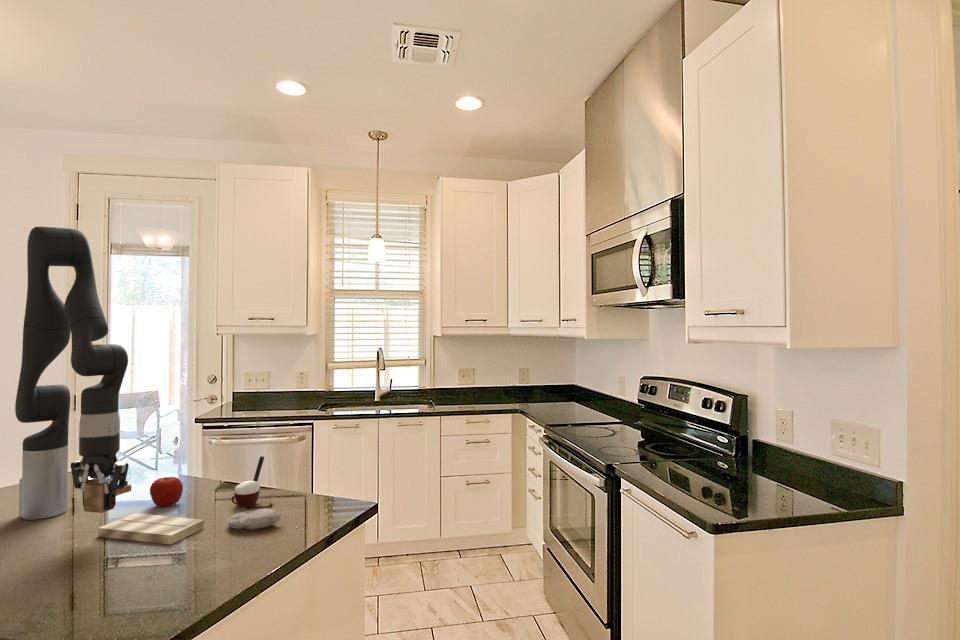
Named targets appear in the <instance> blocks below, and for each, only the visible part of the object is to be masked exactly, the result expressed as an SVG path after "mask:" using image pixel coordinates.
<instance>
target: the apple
mask: <svg viewBox="0 0 960 640" xmlns="http://www.w3.org/2000/svg"><path fill="white" fill-rule="evenodd" d="M183 490H184V486H183V482H182V481H181V479H180V478H178V477H177V476H165V477H160V478H158V479H156V480H154V481H153V482H152V483H151V485H150V488H149V496H150V498H151V500H152V503H153V504H154V505H156V506H158V507H160V508H164V507H165V508H166V507H167V508H168V507H171V506H174V505H175V504H178V502H179V501H180V500H181V498H182V494H183Z"/></svg>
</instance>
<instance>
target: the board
mask: <svg viewBox="0 0 960 640" xmlns="http://www.w3.org/2000/svg"><path fill="white" fill-rule="evenodd" d="M204 521H205V519H198V518H188V517H178V516H177V517H176V516H168V515H166V516H165V515H156V514H155V515H154V514H145V513H135V512H134V513H132V514H130V515H126V516H124V517H121V518H119V519H117V520H114V521H112V522H109V523H107V524H105V525H102V526H100V527H97V537H100V538H108V539H117V540H125V541H126V540H128V541H135V542H144V543H146V542H147V543H153V544H155V543H156V544H163V545H172V544H175V543H177V542H178V541H181V540H183V539H185V538H187V537H188V536H191V535H193V534H195V533H197V532H198V531H201V530H203V529H204V524H205V523H204Z"/></svg>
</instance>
